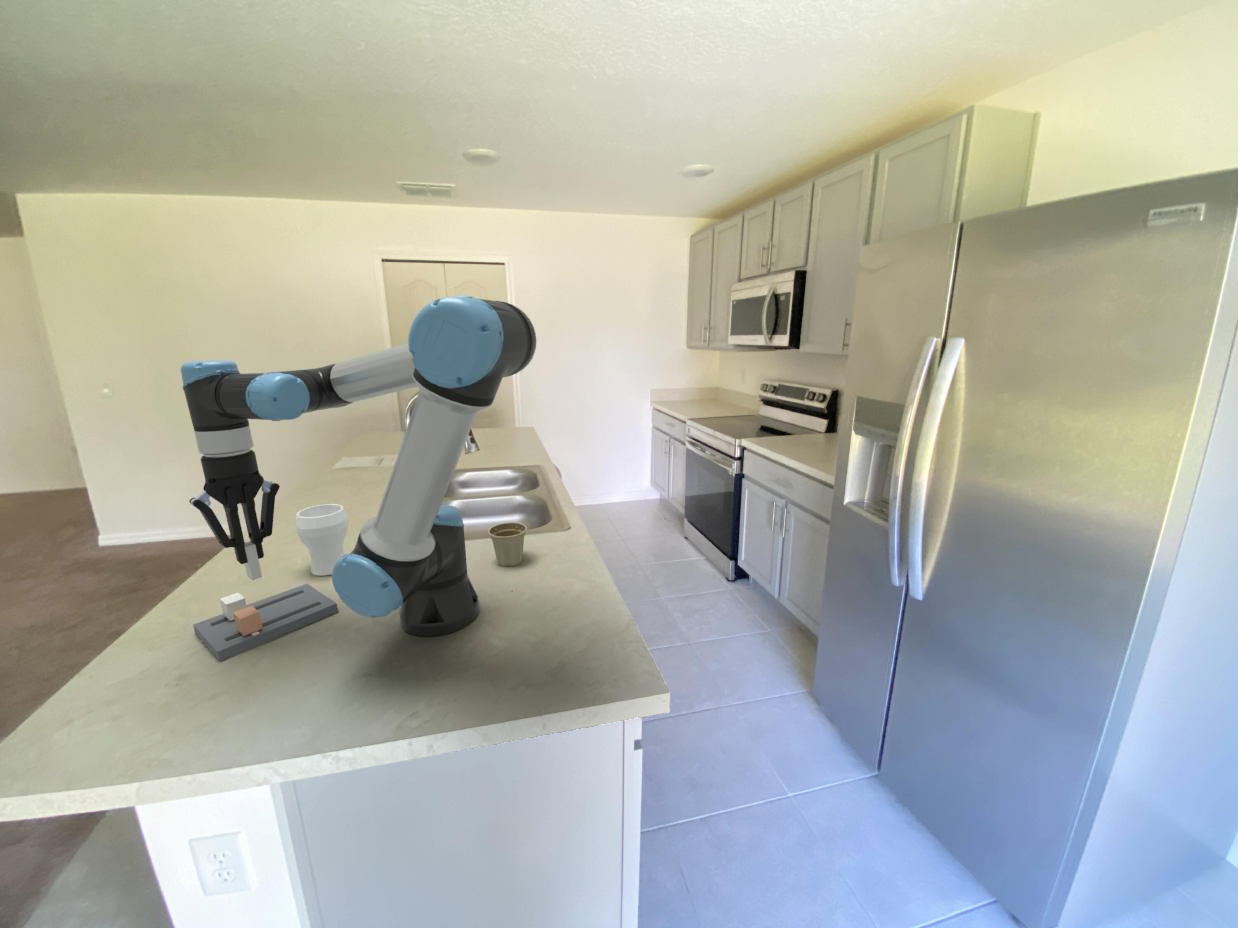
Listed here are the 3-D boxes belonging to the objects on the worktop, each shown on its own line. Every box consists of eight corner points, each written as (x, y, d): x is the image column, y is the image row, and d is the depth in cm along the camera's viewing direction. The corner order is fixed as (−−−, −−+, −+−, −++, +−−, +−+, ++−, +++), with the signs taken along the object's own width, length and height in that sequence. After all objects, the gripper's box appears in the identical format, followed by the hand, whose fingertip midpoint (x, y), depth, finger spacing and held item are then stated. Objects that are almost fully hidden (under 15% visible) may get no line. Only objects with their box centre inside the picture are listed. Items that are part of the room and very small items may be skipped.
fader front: (262, 628, 93) (259, 611, 92) (243, 636, 91) (239, 619, 90) (255, 622, 95) (251, 605, 94) (236, 629, 93) (232, 612, 92)
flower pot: (483, 567, 122) (480, 534, 120) (500, 551, 131) (498, 520, 129) (518, 571, 120) (516, 538, 118) (534, 555, 129) (532, 523, 126)
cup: (332, 580, 115) (322, 520, 112) (293, 576, 118) (282, 516, 114) (363, 560, 126) (355, 504, 122) (327, 557, 128) (318, 501, 124)
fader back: (248, 614, 98) (244, 598, 97) (229, 620, 95) (226, 604, 94) (241, 608, 100) (238, 592, 99) (223, 614, 97) (219, 598, 97)
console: (338, 612, 103) (336, 602, 102) (219, 661, 87) (217, 651, 87) (308, 591, 111) (307, 582, 110) (195, 633, 95) (192, 623, 95)
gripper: (262, 442, 93) (286, 558, 99) (172, 456, 83) (204, 584, 89) (278, 447, 89) (302, 568, 95) (185, 463, 79) (218, 597, 85)
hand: (254, 576), depth 92 cm, fingers closed
